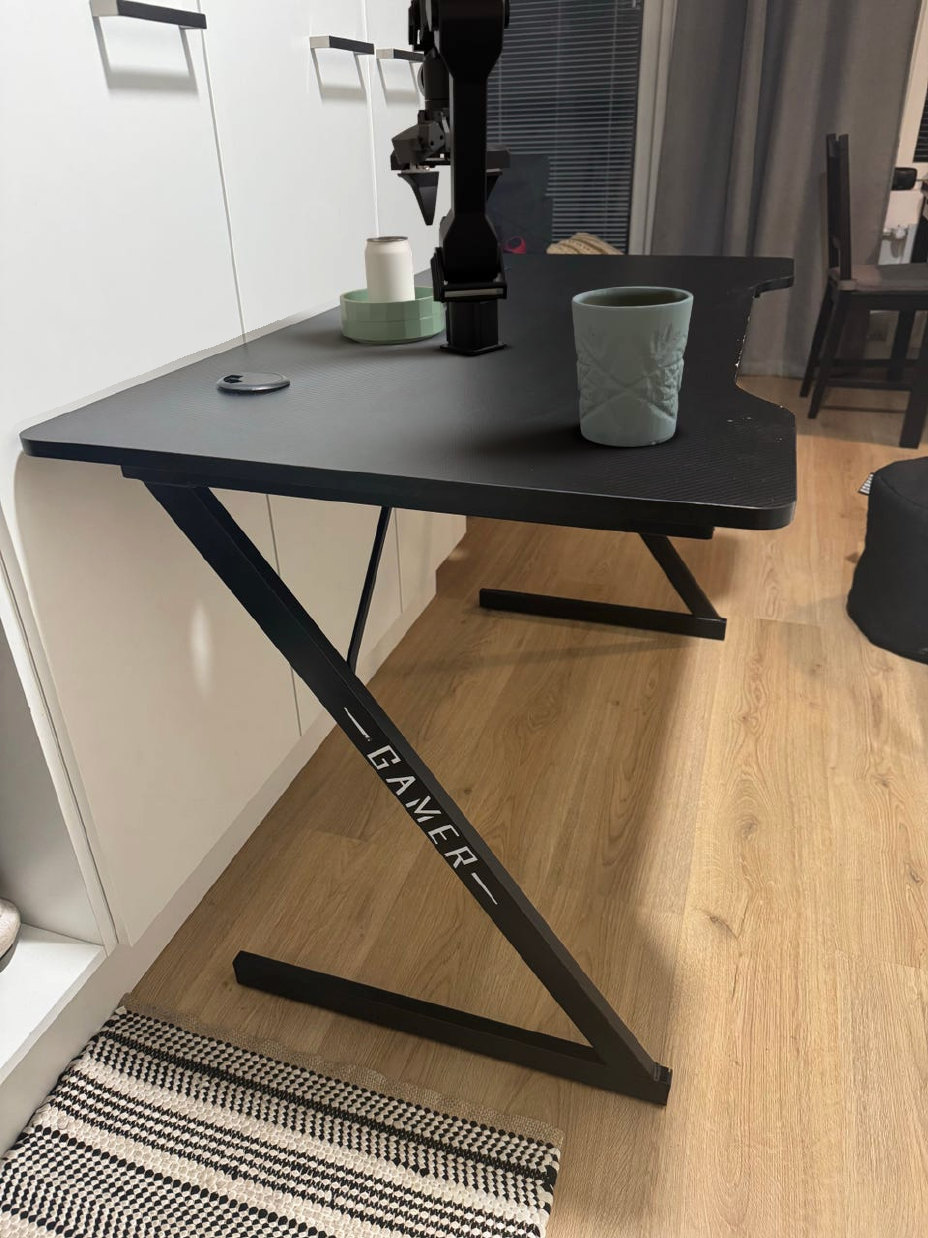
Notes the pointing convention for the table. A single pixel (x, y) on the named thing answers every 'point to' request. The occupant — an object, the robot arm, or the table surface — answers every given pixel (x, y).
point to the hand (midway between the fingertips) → (450, 226)
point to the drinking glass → (630, 362)
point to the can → (389, 269)
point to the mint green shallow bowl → (391, 317)
